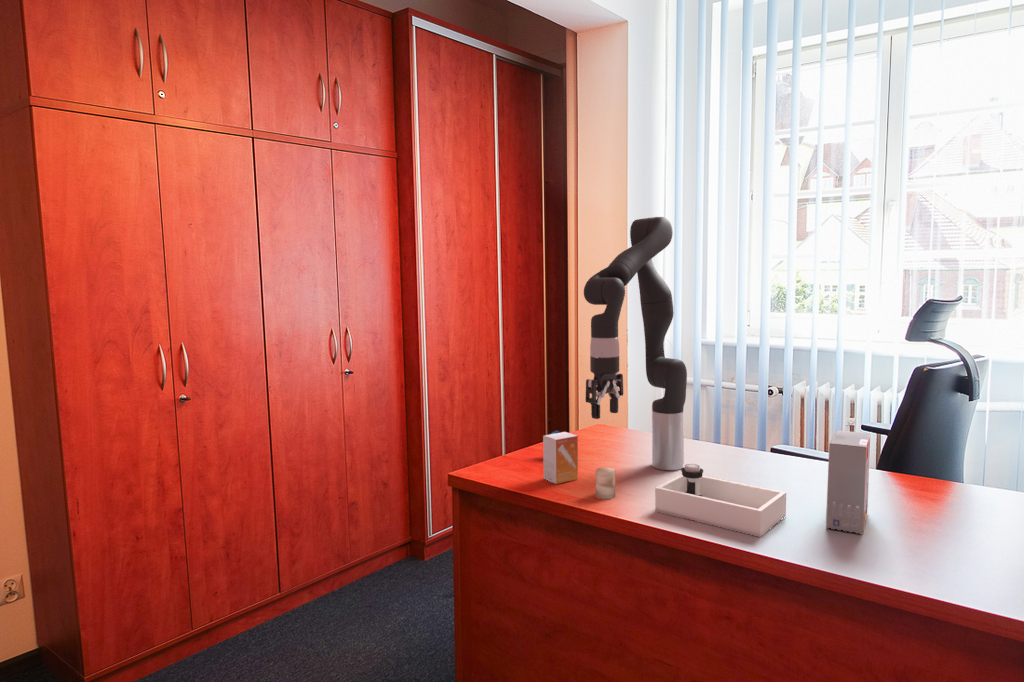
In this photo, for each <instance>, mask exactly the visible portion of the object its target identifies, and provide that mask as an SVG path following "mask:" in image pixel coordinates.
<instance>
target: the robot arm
mask: <svg viewBox="0 0 1024 682" xmlns="http://www.w3.org/2000/svg"><path fill="white" fill-rule="evenodd" d="M673 234H674V233H673V225H672V223H671V221H670V220H669V219H668V218H667V217H664V216H654V217H646V218H645V217H643V218H638V219H634V220H633V221H632V222H631V225H630V231H629V237H630V245H631V246H630V247H628V248H627V249H625V250H623V251H621V253H619V254H618V255H616V257H615V258H614V259H613V260H612V261H611V262H610V264H609V265H608V266H607V267H605V268H602V269H601V270H600V271H598V272H597V273H595V274H593V275H592V276H590V278H589V279H588V280H587V281H586V282H585V285H584V288H583V297H584V300H586V302H587V303H588V304H590V305H595V306H597V305H598V306H600V305H601V306H602V305H603V306H606V307H605V309H604V311H603V313H602V312H601V313H597V314H594V315H593V316H591V319H590V336H591V337H590V345H589V355H590V357H589V358H590V359H589V364H590V365H589V368H590V369H589V371H590V372H591V373H593V379H589V378H586V380H585V403H589V404H590V405H591V406H590V408H591V411H590V412H591V418H592V419H595V420H599V419H601V402H602V399H603V398H605V395H606V394H608V396H609V412H610V413H611V414H617V413H619V399H620V398H621V396H624V376H623V374H622V373H619V372H620V342H619V341H620V340H619V320H620V315H621V312H622V311H621V310H622V307H623V303H624V300H625V297H626V290H625V289H626V286H627V285H628V284H629V283H630V282H631V280H633V278H634V277H635V275H636V274H637V280H638V281H637V283H638V289H639V299H640V300H639V301H640V308H641V316H642V322H643V332H644V342H645V343H644V345H645V346H644V347H645V374H646V379H647V382H648V383H649V384H650V385H651V386H652V387H654V388H658V389H659V388H661V389H664V395H663V397H662V398H658V399H655V400H653V401H652V404H651V410H652V411H651V423H652V425H651V427H652V428H651V429H652V431H651V434H652V435H651V439H652V440H651V444H652V445H651V449H652V450H651V453H652V455H651V456H652V457H651V460H652V461H651V463H652V464H651V465H652V466H651V467H653V468H655V469H657V470H661V471H678V470H681V469H682V468H683V467H684V463H685V461H684V459H685V458H684V457H685V451H684V450H685V446H684V445H685V440H684V439H685V437H684V436H685V435H684V407H685V403H686V398H687V382H688V372H687V367H686V363H684V361H682V360H681V359H679V358H671V357H670V358H669V357H666V356H665V345H664V343H665V338H666V334H667V333H668V330H669V328H670V326H671V325H672V321H673V318H674V302H673V295H672V291H671V288H670V287H669V286H668V283H666V281H665V280H664V279H663V278H662V276H661V275H660V274H659V272H658V271H657V269H656V267H655V266H654V263H653V261H652V260H653V258H654V257H656V256H657V255H658V254H659V253H661V252H662V251H664V250H665V249H666V248H667V247H668V246H669V245H670V243H671V242H672V239H673ZM590 396H591V397H590Z"/></svg>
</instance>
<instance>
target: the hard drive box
mask: <svg viewBox="0 0 1024 682" xmlns="http://www.w3.org/2000/svg"><path fill="white" fill-rule="evenodd" d="M870 449H871V433H870V432H869V433H868V432H858V431H848V430H840V429H839V430H836V431H835V433H834V434H833V436H832V438H831V440H830V442H829V445H828V467H827V468H828V469H827V489H826V490H827V491H826V510H825V511H826V513H825V514H826V515H825V529H826V528H827V529H829V528H831V530H835V529H837V530H836V531H841V530H843V531H842V532H847V531H849V532H848V533H852V532H856V533H855V534H858V533H863V534H864V531H863V530H865V526H866V522H865V521H866V520H867V516H868V507H869V503H868V502H869V485H870V484H869V477H870V456H871V455H870V453H871V452H870V451H871V450H870Z"/></svg>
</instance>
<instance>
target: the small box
mask: <svg viewBox="0 0 1024 682" xmlns="http://www.w3.org/2000/svg"><path fill="white" fill-rule="evenodd" d="M549 434H550V433H549ZM578 438H579V436H578V435H577V434H574V433H570V432H567V431H562V432H561V431H560V433H555V434H550V435H548V434H546V435H545V434H544V435H542V444H543V445H542V449H543V452H542V453H543V454H542V455H543V461H542V462H543V463H542V465H543V480H545V479H546V480H545V481H547V480H548V482H550V483H552V484H555V485H558V484H562V483H566V482H572V481H576V479H577V480H578V479H579V475H578V474H579V473H578V471H579V464H578V462H579V460H578V459H579V457H578V455H579V454H578V453H579V452H578V451H579V449H578V445H579V444H578V441H579V439H578Z"/></svg>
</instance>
